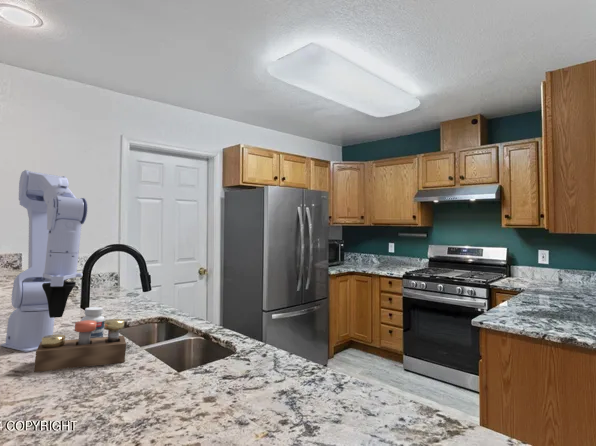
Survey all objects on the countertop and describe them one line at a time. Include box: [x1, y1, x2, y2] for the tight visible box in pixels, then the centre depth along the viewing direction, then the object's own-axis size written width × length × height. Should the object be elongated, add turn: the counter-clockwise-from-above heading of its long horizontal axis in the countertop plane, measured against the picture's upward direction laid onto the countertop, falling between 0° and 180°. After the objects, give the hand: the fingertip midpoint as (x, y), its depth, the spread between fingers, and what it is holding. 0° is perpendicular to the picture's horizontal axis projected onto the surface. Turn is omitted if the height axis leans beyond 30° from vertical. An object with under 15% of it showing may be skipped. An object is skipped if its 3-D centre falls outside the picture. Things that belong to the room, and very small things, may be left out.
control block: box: [33, 335, 127, 373], centre depth 74 cm, size 16×7×4 cm, turn 121°
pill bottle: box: [80, 306, 106, 338], centre depth 87 cm, size 5×5×9 cm
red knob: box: [74, 320, 97, 345], centre depth 75 cm, size 4×4×5 cm
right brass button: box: [104, 318, 125, 343], centre depth 77 cm, size 4×4×5 cm
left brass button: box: [41, 334, 66, 348], centre depth 72 cm, size 4×4×5 cm
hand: (56, 316), depth 72 cm, fingers closed
